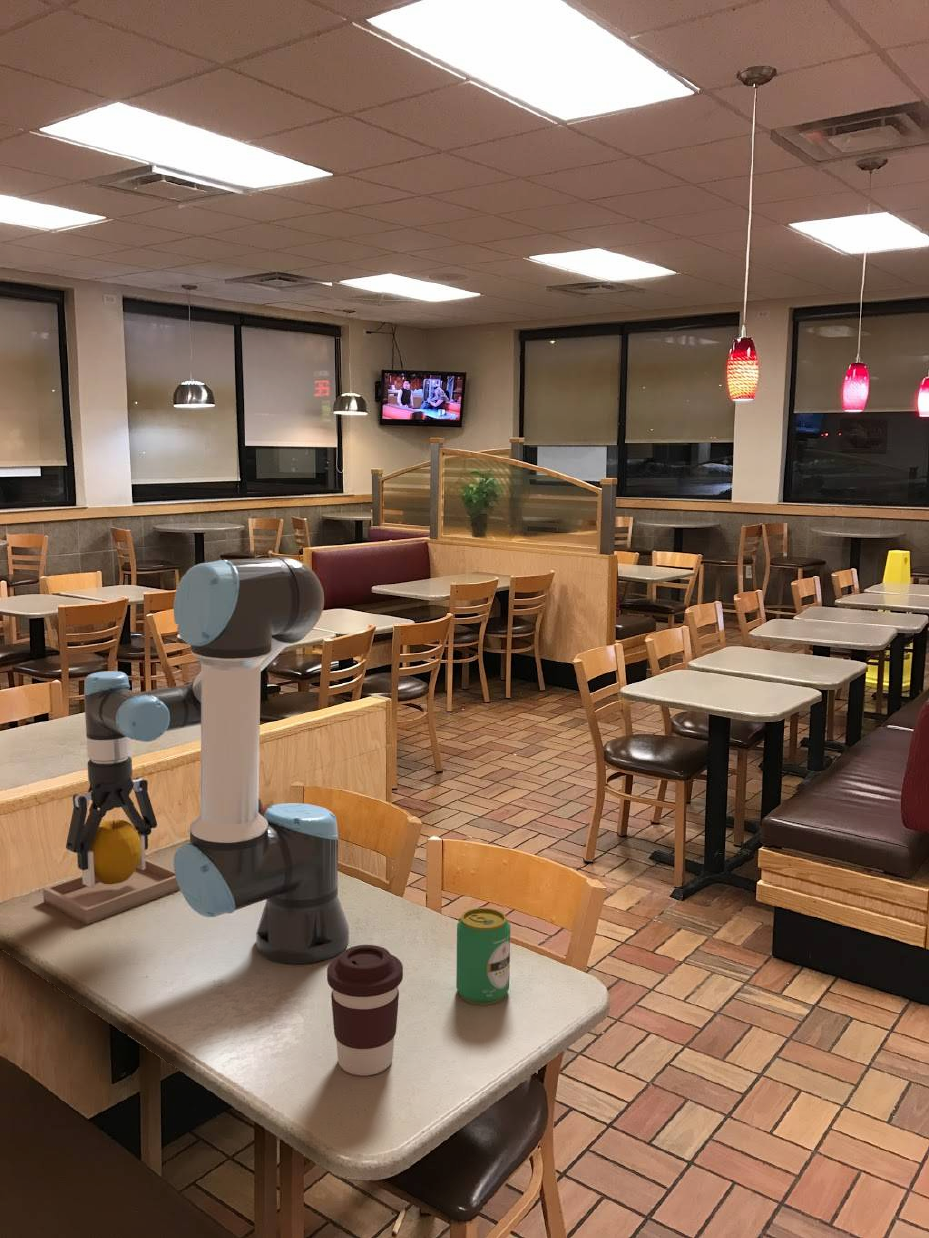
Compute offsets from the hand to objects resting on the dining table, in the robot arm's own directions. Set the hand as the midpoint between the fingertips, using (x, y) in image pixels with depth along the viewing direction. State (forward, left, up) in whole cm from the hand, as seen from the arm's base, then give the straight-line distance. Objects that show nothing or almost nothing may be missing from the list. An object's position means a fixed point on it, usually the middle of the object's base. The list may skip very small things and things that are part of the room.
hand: (114, 876), depth 185 cm
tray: (0, 0, -4) cm, 4 cm away
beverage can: (-72, +19, -4) cm, 75 cm away
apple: (0, 0, -1) cm, 1 cm away
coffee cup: (-60, +40, -4) cm, 72 cm away
